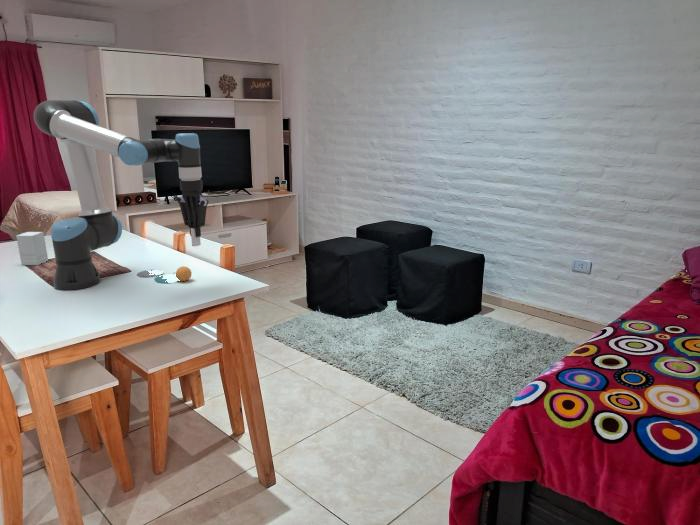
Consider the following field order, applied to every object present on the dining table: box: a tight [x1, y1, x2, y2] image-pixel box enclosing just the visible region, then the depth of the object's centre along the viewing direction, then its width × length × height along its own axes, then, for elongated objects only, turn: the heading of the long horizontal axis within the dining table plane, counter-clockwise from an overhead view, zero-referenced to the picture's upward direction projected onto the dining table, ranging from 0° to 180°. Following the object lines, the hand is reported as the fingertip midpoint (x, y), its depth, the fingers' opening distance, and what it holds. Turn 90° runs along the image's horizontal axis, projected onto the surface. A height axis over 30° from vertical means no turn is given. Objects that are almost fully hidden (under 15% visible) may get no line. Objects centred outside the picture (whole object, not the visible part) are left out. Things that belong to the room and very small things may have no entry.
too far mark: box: [136, 269, 157, 278], centre depth 208 cm, size 10×10×1 cm
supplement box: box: [15, 231, 49, 266], centre depth 222 cm, size 7×7×13 cm
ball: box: [175, 266, 192, 282], centre depth 198 cm, size 6×6×6 cm
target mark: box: [153, 276, 169, 284], centre depth 202 cm, size 13×13×1 cm
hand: (196, 245), depth 192 cm, fingers closed
